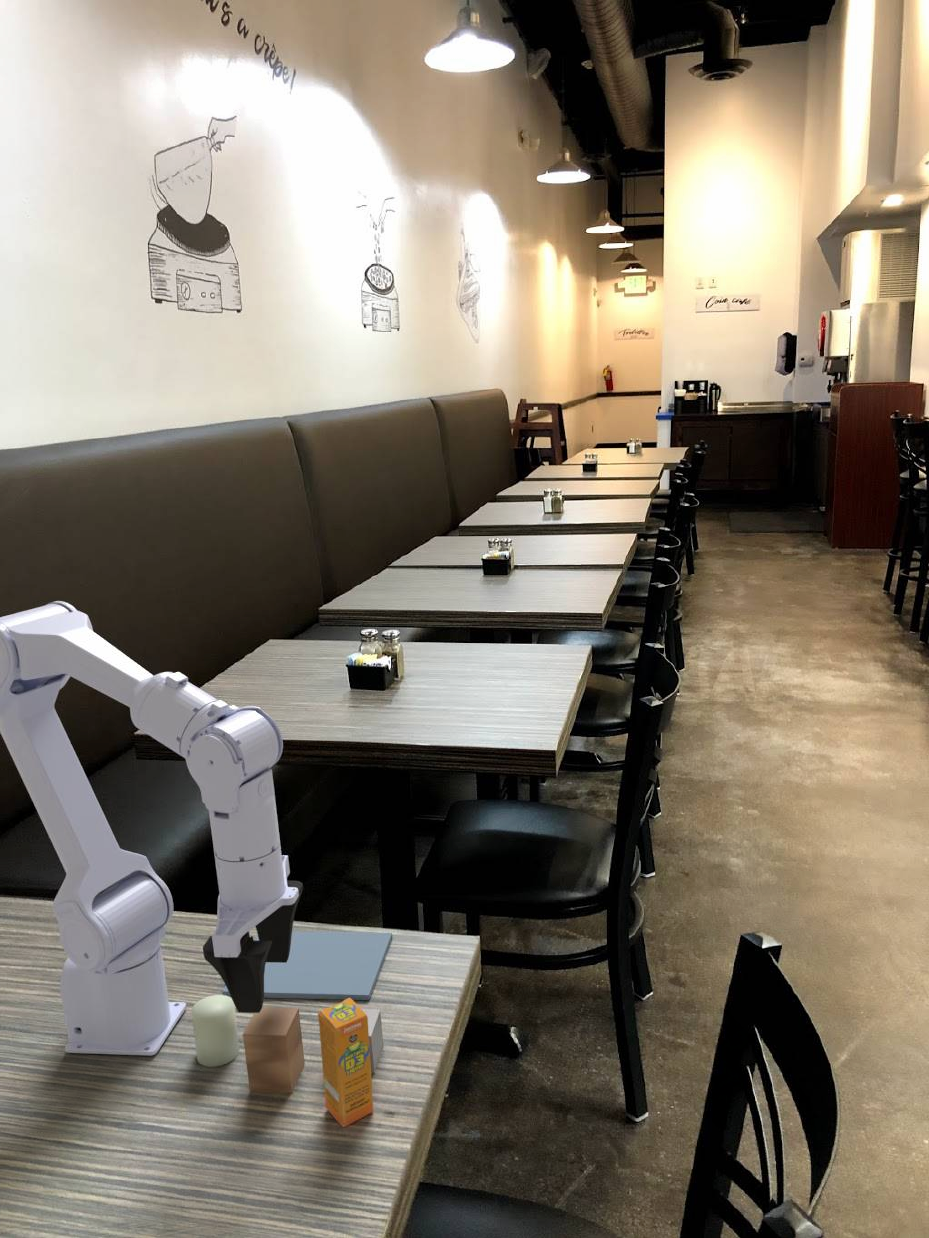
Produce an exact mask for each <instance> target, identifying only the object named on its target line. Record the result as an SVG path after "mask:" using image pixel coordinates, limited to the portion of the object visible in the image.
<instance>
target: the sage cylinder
mask: <svg viewBox="0 0 929 1238" xmlns="http://www.w3.org/2000/svg"><path fill="white" fill-rule="evenodd" d="M191 1016H192V1025H193V1036H194V1045H195V1053H196V1054H195V1055H196V1059H197V1062H198V1063H199V1064H200V1065H202V1066H203V1067H210V1068H216V1067H221V1066H224V1065H226V1064H229V1063H230V1062H233V1060H234V1059H235V1058H236V1057H237V1056H238V1054H239V1053H240V1046H239V1045H240V1044H239V1033H238V1025H237V1024H238V1023H237V1014H236V1007H235V1005H234V1002H233V1000H232V998H231V997H229V996H225V995H222V994H213V995H209V996H207V997H204V998H202V999H200V1000H199V1001H197V1002H196V1003H195V1004H194V1005H193V1006H192V1008H191Z"/></svg>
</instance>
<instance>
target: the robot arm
mask: <svg viewBox="0 0 929 1238" xmlns="http://www.w3.org/2000/svg"><path fill="white" fill-rule="evenodd" d="M70 678H73V679H75V680H77V681H79V682H81V683H83V684H84V685H86V686H89V687H91V688H92V689H94V690H97V691H98V692H100V693H102V694H104V695H106V696H107V697H109V698H111V699H114V700H115V701H117V702H119V703H121V704H123V705H125V706H127V707H128V708H129V712H130V718H131V722H132V724H133V725H134V726H135V728H137V729H138V730H140V731H142V732H143V733H145V734H147V735H148V736H150V737H151V738H152V739H154V740H156V741H157V742H159V743H160V744H162V745H164V746H165V747H166V748H168V749H169V750H172V751H173V752H174V753H176V754H178V755H179V756H181V757H182V758H184V759H185V762H186V766H187V769H188V772H189V774H190V776H191V777H192V778H193V780H194V781H195V783H196V784H197V786H198V788H199V790H200V793H201V795H200V796H201V802H202V803H203V804H204V805H205V808H206V809H207V810H208V815H209V822H210V824H209V825H210V829H211V838H212V844H213V845H212V846H213V854H214V861H215V862H214V863H215V869H216V877H217V885H218V892H219V894H218V897H217V912H216V913H217V914H216V917H217V918H216V927H215V930H214V933H213V934H212V935H210V936H209V937H208V938H207V940H206V941H205V943H204V944H203V946H202V953H203V958H204V960H205V961H206V962H208V964H209V965H211V966H212V967H213V968H214V970H215V971H216V972H217V973H218V975H219V976H220V978H221V979H222V981H223V982H224V985H225V986H226V987H227V989H228V991H229V993H230V996H231V998H232V1000H233V1002H234V1005H235V1010H236V1011H237V1013H241V1014H242V1013H247V1014H248V1013H251V1014H254V1013H259V1012H260V1011H261V1009H262V1007H264V999H265V997H264V972H265V964H266V962H280V963H286V962H287V960H288V958H289V953H290V946H291V937H292V931H293V925H294V919H295V914H296V911H297V906H298V904H299V901H300V898H301V895H302V893H303V891H304V885H303V882H301V881H300V880H288V877H289V875H290V873H291V870H290V862H289V860H290V859H289V855H284V854H283V855H282V850H281V849H282V847H281V840H280V839H281V838H280V832H279V821H278V814H277V804H276V795H275V786H274V785H275V784H274V778H273V769H272V767H273V766H275V765H276V764H277V763H278V762H279V760H280V758H281V756H282V755H283V754H282V753H283V749H284V742H283V735H282V733H281V730H280V727H279V726H278V724H277V723H276V721H275V720H274V719H273V718H272V717H271V716H270V715H269V714H268V713H267V712H265V711H264V710H263V709H262V708H261V707H259V706H255V705H245V706H243V707H238V706H236V705H234V704H232V705H229V704H228V703H226V702H225V701H223V700H221V699H217V698H216V697H214V696H212V695H211V694H209V693H207V692H206V691H204V690H202V689H201V688H199V687H198V686H196V685H194V683H193V684H192V683H191V682H189V677H188V676H186V675H185V674H183V673H182V672H180V671H177V672H173V671H164V672H159V673H157V674H154V675H153V674H152V673H150V671H148V670H146V669H145V668H144V667H142V666H141V665H140V664H138V663H137V662H135V661H134V660H133V659H131V658H130V657H129V656H127V655H126V654H125V653H124V652H122V651H121V650H119V649H118V648H117V647H116V646H114V645H112V644H111V643H109V642H108V641H107V640H106V639H104V638H103V637H102V636H100V635H99V634H97V633H96V632H94V630H93V625H92V622H91V620H90V618H89V615H88V614H86V613H84V612H82V611H80V610H77V609H76V608H75V607H74V605H72V604H70V603H69V602H65V601H62V600H56V601H52V602H49V603H47V604H45V605H42V606H39V607H35V608H32V609H31V608H30V609H28V610H27V609H26V610H23V611H19V612H16V613H13V614H9V615H5V616H1V617H0V735H1V737H2V739H3V741H4V743H5V745H6V748H7V750H8V752H9V754H10V757H11V758H12V761H13V762H14V765H15V767H16V768H17V771H18V773H19V776H20V777H21V779H22V782H23V785H24V786H25V788H26V790H27V792H28V794H29V797H30V799H31V802H33V805H34V807H35V809H36V811H37V814H38V816H39V818H40V820H41V821H42V822H41V823H42V824H43V826H44V828H45V830H46V831H45V832H46V833H47V835H48V838H49V839H50V841H51V843H52V846H53V848H54V850H55V852H56V854H57V857H58V858H59V861H60V863H61V864H62V867H63V869H64V872H65V874H66V875H65V878H64V880H63V882H62V884H61V885H60V888H59V889H58V892H57V893H56V896H55V898H54V900H53V902H52V904H51V909H52V911H53V913H54V915H55V918H56V921H57V924H58V930H59V940H60V944H61V947H62V949H63V951H64V953H65V954H66V956H67V959H66V960H65V962H64V964H63V967H62V971H61V977H60V983H59V984H60V985H59V987H60V988H59V990H60V992H59V993H60V998H61V1005H62V1010H63V1016H64V1017H63V1018H64V1022H65V1028H66V1033H67V1038H68V1043H67V1044H66V1045H65V1047H64V1051H65V1053H71V1054H72V1053H73V1054H96V1055H98V1054H99V1055H126V1056H127V1055H128V1056H148V1057H149V1056H154V1055H156V1054H157V1053H158V1052H159V1050H160V1049H161V1048H162V1045H163V1044H164V1042H165V1041H166V1040H167V1038H168V1036H169V1034H170V1033H171V1032H172V1030H173V1028H174V1027H175V1026H176V1024H177V1022H178V1021H179V1019H180V1018H181V1017H182V1015H183V1014H184V1012H185V1010H186V1009H187V1003H186V1002H184V1001H169V995H168V994H169V992H168V987H167V981H166V974H165V966H164V965H165V964H164V959H163V958H164V957H163V953H162V945H161V942H162V940H163V939H164V938H165V937H166V931H165V930H166V929H165V925H168V924H169V922H170V921H171V919H172V917H173V914H174V902H173V896H172V894H171V891H170V889H169V887H168V886H167V884H166V883H165V881H164V880H162V878H161V877H159V875H157V873H156V871H154V869H153V867H152V865H151V864H150V861H149V859H148V857H147V856H145V855H142V854H140V853H136V852H132V851H130V850H129V851H128V850H126V849H125V850H124V849H122V848H120V845H119V843H118V842H117V840H116V837H115V835H114V832H113V831H112V828H111V826H110V824H109V822H108V820H107V818H106V815H105V814H104V811H103V810H102V809H103V808H102V807H101V805H100V803H99V801H98V799H97V797H96V794H95V793H94V790H93V787H92V785H91V783H90V781H89V779H88V777H87V775H86V773H85V771H84V768H83V766H82V765H81V762H80V760H79V757H78V756H77V753H76V751H75V750H74V747H73V745H72V744H71V740H70V739H69V737H68V734H67V732H66V730H65V728H64V726H63V723H62V721H61V719H60V717H59V716H58V713H57V711H56V708H55V703H56V700H57V698H58V694H59V692H60V690H62V688H64V687H65V686H66V684H67V682H68V681H69V679H70ZM115 883H116V884H115ZM112 885H113V886H112ZM110 886H111V887H110ZM108 887H110V888H108ZM106 889H107V890H106ZM104 890H105V891H104ZM102 891H103V892H102ZM101 892H102V893H101ZM254 927H255V930H256V933H257V934H258V938H259V941H254V936H253V935H252V936H250V931H251V930H252V929H253V928H254ZM257 934H256V935H257Z"/></svg>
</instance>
